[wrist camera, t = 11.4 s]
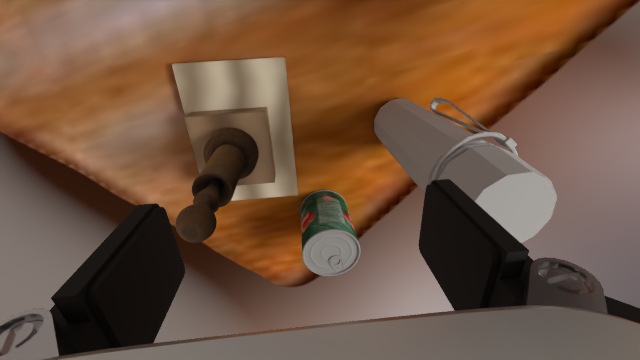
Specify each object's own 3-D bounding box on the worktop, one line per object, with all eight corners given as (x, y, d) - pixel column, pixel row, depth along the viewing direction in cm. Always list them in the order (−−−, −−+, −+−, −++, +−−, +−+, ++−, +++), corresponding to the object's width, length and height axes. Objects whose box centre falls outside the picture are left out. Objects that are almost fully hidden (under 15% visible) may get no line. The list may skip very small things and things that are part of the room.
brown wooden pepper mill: (200, 161, 38) (134, 250, 22) (217, 118, 36) (157, 182, 20) (247, 180, 40) (218, 275, 24) (266, 140, 38) (248, 216, 22)
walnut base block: (267, 106, 39) (265, 111, 36) (275, 173, 43) (274, 182, 41) (191, 111, 38) (184, 117, 36) (208, 179, 43) (202, 188, 40)
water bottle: (396, 155, 45) (499, 270, 23) (360, 125, 42) (434, 221, 20) (440, 108, 42) (606, 186, 20) (404, 73, 40) (548, 117, 17)
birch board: (284, 56, 38) (284, 57, 36) (297, 191, 46) (298, 195, 45) (175, 63, 37) (171, 64, 36) (209, 198, 46) (207, 202, 45)
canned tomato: (292, 200, 47) (292, 243, 37) (337, 182, 46) (349, 221, 36) (311, 235, 51) (316, 283, 41) (353, 219, 50) (368, 264, 40)
